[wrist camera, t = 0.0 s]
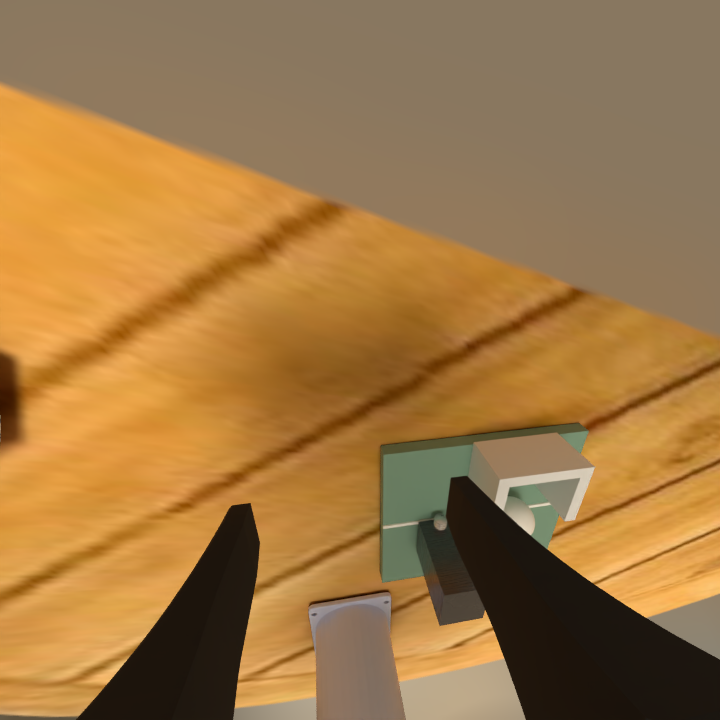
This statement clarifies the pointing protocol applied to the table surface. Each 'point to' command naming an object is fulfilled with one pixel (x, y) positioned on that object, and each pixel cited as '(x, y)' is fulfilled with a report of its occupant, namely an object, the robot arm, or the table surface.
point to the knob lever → (446, 574)
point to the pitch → (444, 492)
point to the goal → (532, 470)
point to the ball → (520, 513)
